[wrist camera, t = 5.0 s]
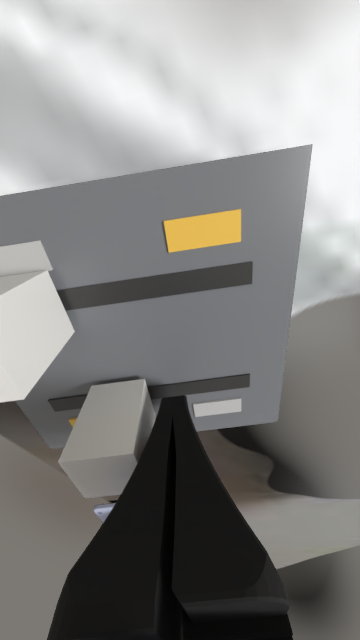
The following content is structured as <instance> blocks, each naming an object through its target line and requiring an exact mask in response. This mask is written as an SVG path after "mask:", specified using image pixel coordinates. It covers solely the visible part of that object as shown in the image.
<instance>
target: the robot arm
mask: <svg viewBox="0 0 360 640" xmlns="http://www.w3.org/2000/svg"><path fill="white" fill-rule="evenodd" d="M94 512H95V513H96V515H97V516H98V518H99V519H100V520H101V522H102V523H103V524H102V526H101V527H100V529H99V531H98V532H97V533H96V535H95V536H94V538H93V539H92V541H91V542H90V544H89V545H88V546H87V548H86V549H85V551H84V552H83V554H82V555H81V556H80V558H79V559H78V561H77V562H76V563H75V565H74V566H73V568H72V569H71V570H70V572H69V574H68V576H67V579H66V581H65V584H64V586H63V589H62V592H61V595H60V598H59V600H58V603H57V606H56V610H55V613H54V617H53V621H52V624H51V628H50V631H49V634H48V638H47V640H293V638H292V635H293V633H292V629H291V626H290V622H289V618H288V615H287V611H288V609H289V606H290V600H289V597H288V594H287V591H286V589H285V587H284V584H283V582H282V580H281V578H280V576H279V574H278V572H277V570H276V568H275V567H274V565H273V563H272V561H271V559H270V557H269V555H268V553H267V551H266V550H265V548H264V547H263V545H262V544H261V542H260V541H259V540H258V538H257V537H256V535H255V534H254V532H253V531H252V529H251V528H250V526H249V525H248V523H247V522H246V520H245V519H244V517H243V516H242V514H241V513H240V511H239V510H238V508H237V507H236V505H235V503H234V502H233V500H232V498H231V497H230V495H229V493H228V492H227V490H226V489H225V487H224V485H223V484H222V482H221V480H220V478H219V476H218V475H217V473H216V471H215V469H214V467H213V465H212V464H211V462H210V460H209V458H208V456H207V454H206V452H205V450H204V447H203V445H202V443H201V441H200V439H199V436H198V434H197V431H196V429H195V426H194V424H193V421H192V418H191V415H190V412H189V408H188V402H187V396H185V395H181V396H173V397H165V398H162V399H161V403H160V407H159V410H158V414H157V417H156V420H155V423H154V425H153V428H152V431H151V433H150V436H149V438H148V441H147V443H146V446H145V448H144V450H143V452H142V455H141V457H140V459H139V461H138V463H137V465H136V467H135V469H134V471H133V473H132V475H131V477H130V479H129V481H128V483H127V484H126V486H125V488H124V490H123V491H122V493H121V495H120V497H119V498H118V500H117V502H116V503H110V504H101V505H96V506H95V507H94Z"/></svg>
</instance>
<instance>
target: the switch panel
mask: <svg viewBox="0 0 360 640" xmlns="http://www.w3.org/2000/svg"><path fill="white" fill-rule="evenodd" d="M312 145H313V144H311V145H305V146H299V147H293V148H287V149H281V150H275V151H269V152H263V153H257V154H251V155H245V156H239V157H233V158H227V159H221V160H215V161H209V162H203V163H197V164H191V165H185V166H179V167H173V168H167V169H161V170H155V171H149V172H143V173H137V174H130V175H124V176H118V177H112V178H106V179H100V180H94V181H88V182H82V183H76V184H70V185H64V186H58V187H52V188H46V189H40V190H34V191H28V192H22V193H16V194H10V195H4V196H0V277H4V276H11V275H18V274H24V273H31V272H37V271H44V270H48V273H49V275H50V277H51V279H52V282H53V284H54V286H55V288H56V291H57V293H58V295H59V297H60V300H61V302H62V304H63V306H64V309H65V311H66V313H67V315H68V318H69V320H70V322H71V324H72V327H73V329H74V331H75V332H74V333H73V335H72V336H71V337H70V339H69V340H68V341H67V343H66V344H65V345H64V347H63V348H62V349H61V351H60V352H59V353H58V355H57V356H56V357H55V359H54V360H53V361H52V363H51V364H50V365H49V367H48V368H47V369H46V371H45V372H44V373H43V375H42V376H41V377H40V379H39V380H38V381H37V383H36V384H35V385H34V387H33V388H32V389H31V391H30V392H29V393H28V395H27V396H26V397H25V399H24V400H16V401H15V402H16V403H17V405H18V406H19V407H20V409H21V410H22V412H23V413H24V414H25V416H26V417H27V418H28V420H29V421H30V422H31V424H32V425H33V426H34V428H35V429H36V430H37V432H38V433H39V434H40V436H41V437H42V438H43V440H44V441H45V442H46V444H47V445H48V447H49V448H50V449H55V448H64V447H65V445H66V443H67V441H68V438H69V436H70V434H71V431H72V429H73V427H74V425H75V422H76V420H77V418H78V415H79V413H80V411H81V409H82V406H83V404H84V402H85V399H86V397H87V395H88V393H89V390H90V388H91V386H93V385H101V384H109V383H116V382H124V381H132V380H139V379H145V382H146V385H147V388H148V392H149V395H150V398H151V402H152V405H153V409H154V412H155V420H156V417H157V414H158V410H159V407H160V403H161V399H162V398H165V397H173V396H181V395H185V396H187V402H188V408H189V412H190V415H191V418H192V421H193V424H194V426H195V429H196V431H204V430H213V429H221V428H228V427H238V426H246V425H254V424H262V423H271V422H277V421H278V415H279V407H280V398H281V391H282V383H283V375H284V367H285V359H286V351H287V343H288V335H289V327H290V319H291V311H292V304H293V296H294V288H295V280H296V272H297V264H298V256H299V248H300V240H301V232H302V224H303V216H304V208H305V200H306V192H307V184H308V176H309V168H310V160H311V152H312Z"/></svg>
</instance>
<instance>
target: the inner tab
mask: <svg viewBox="0 0 360 640" xmlns="http://www.w3.org/2000/svg"><path fill="white" fill-rule="evenodd" d="M154 423H155V412H154V409H153V405H152V402H151V398H150V395H149V392H148V388H147V385H146V382H145V379H139V380H132V381H124V382H116V383H109V384H101V385H93V386H91V388H90V390H89V393H88V395H87V397H86V399H85V402H84V404H83V406H82V409H81V411H80V413H79V415H78V418H77V420H76V422H75V425H74V427H73V429H72V431H71V434H70V436H69V438H68V441H67V443H66V445H65V447H64V450H63V452H62V454H61V457H60V459H59V461H58V463H59V465H60V466H61V467H62V469H63V470H64V471H65V472H66V474H67V475H68V476H69V478H70V479H71V480H72V482H73V483H74V484H75V486H76V487H77V488H78V490H79V491H80V492H81V494H82V495H83V496H84V498H92V497H101V496H110V495H119V494H121V493H122V491H123V490H124V488H125V486H126V484H127V483H128V481H129V479H130V477H131V475H132V473H133V471H134V469H135V467H136V465H137V463H138V461H139V459H140V457H141V455H142V452H143V450H144V448H145V446H146V443H147V441H148V438H149V436H150V433H151V431H152V428H153V425H154Z"/></svg>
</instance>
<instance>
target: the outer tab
mask: <svg viewBox="0 0 360 640" xmlns="http://www.w3.org/2000/svg"><path fill="white" fill-rule="evenodd" d="M74 332H75V331H74V329H73V327H72V324H71V322H70V320H69V318H68V315H67V313H66V311H65V309H64V306H63V304H62V302H61V300H60V297H59V295H58V293H57V291H56V288H55V286H54V284H53V282H52V279H51V277H50V275H49V273H48V270H44V271H37V272H31V273H24V274H18V275H11V276H4V277H0V403H1V402H8V401H16V400H24V399H25V397H26V396H27V395H28V393H29V392H30V391H31V389H32V388H33V387H34V385H35V384H36V383H37V381H38V380H39V379H40V377H41V376H42V375H43V373H44V372H45V371H46V369H47V368H48V367H49V365H50V364H51V363H52V361H53V360H54V359H55V357H56V356H57V355H58V353H59V352H60V351H61V349H62V348H63V347H64V345H65V344H66V343H67V341H68V340H69V339H70V337H71V336H72V335H73V333H74Z"/></svg>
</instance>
